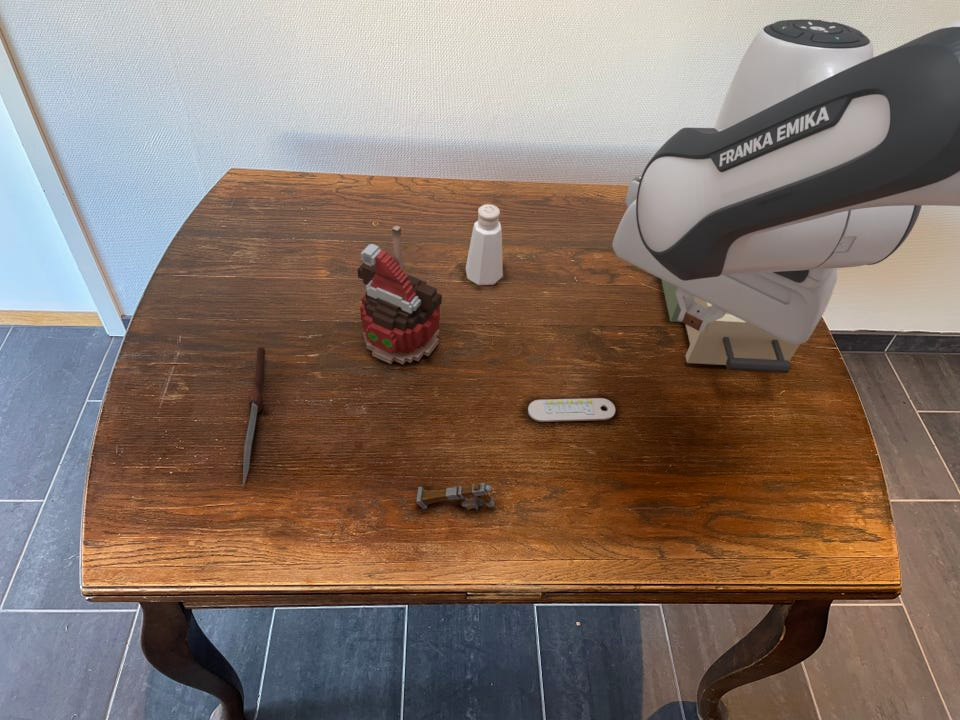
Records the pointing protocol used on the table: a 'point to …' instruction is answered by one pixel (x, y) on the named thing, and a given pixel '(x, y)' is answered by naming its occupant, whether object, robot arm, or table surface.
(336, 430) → the table surface
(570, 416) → the keychain
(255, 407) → the knife
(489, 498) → the wooden post with brackets
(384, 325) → the christmas cupcake
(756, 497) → the table surface
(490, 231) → the salt shaker
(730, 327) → the drawer
